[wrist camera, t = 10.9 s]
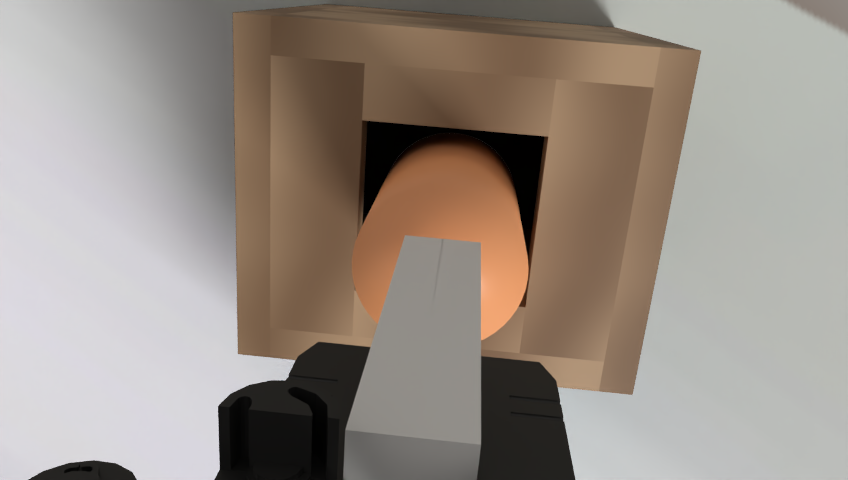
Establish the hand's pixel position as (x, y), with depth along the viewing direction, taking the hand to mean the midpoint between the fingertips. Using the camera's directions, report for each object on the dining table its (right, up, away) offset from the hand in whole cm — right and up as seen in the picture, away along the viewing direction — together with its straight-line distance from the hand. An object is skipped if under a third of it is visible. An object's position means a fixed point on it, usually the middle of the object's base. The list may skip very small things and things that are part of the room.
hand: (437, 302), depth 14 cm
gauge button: (+1, +3, +7) cm, 8 cm away
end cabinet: (+1, +6, +17) cm, 18 cm away
